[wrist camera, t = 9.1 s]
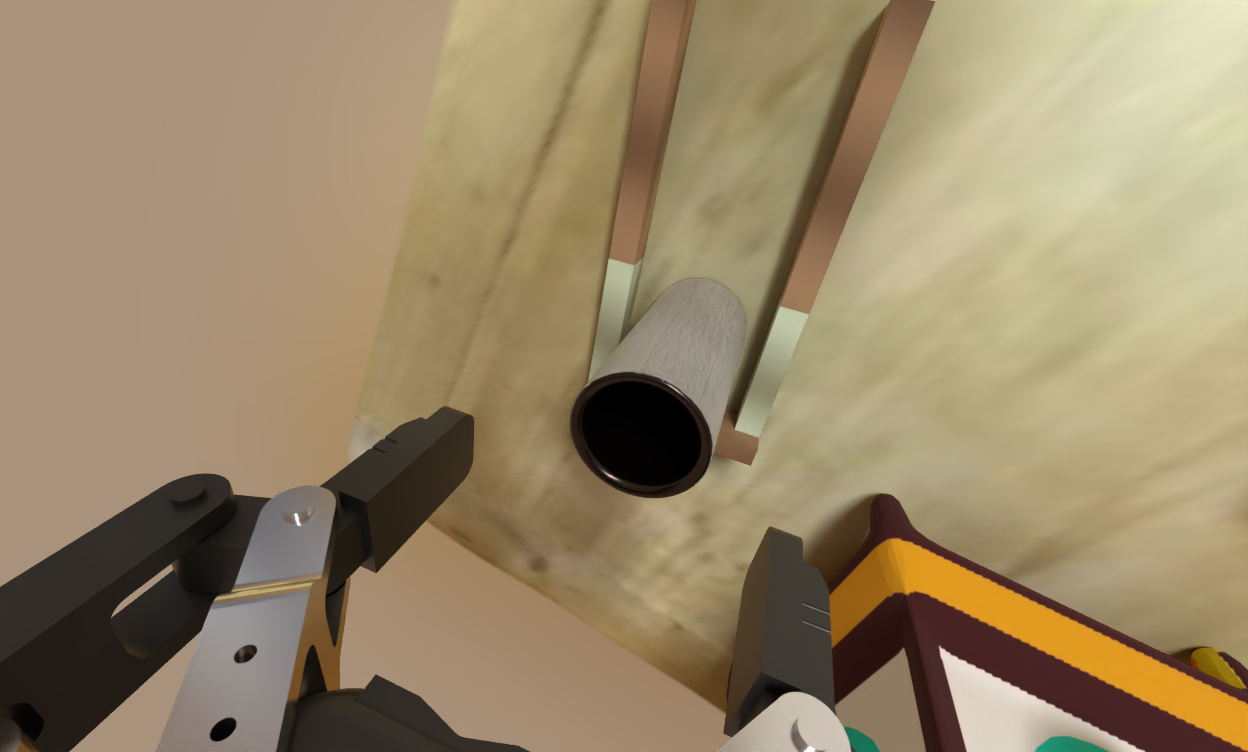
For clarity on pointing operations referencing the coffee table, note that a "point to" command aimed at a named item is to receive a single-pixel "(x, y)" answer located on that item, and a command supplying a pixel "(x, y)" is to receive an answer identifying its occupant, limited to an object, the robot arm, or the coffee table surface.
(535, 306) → the coffee table surface
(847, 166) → the guide channel
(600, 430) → the grey hollow cylinder
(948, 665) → the decorative lantern
